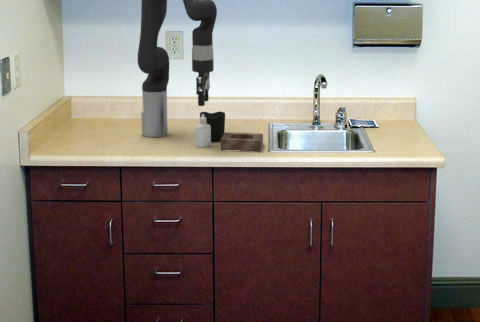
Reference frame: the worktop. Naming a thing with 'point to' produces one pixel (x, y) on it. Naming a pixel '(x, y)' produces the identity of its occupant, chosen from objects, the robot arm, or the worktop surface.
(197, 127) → the eye dropper bottle
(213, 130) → the pen holder
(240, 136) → the recessed rectangular tray
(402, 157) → the worktop surface
